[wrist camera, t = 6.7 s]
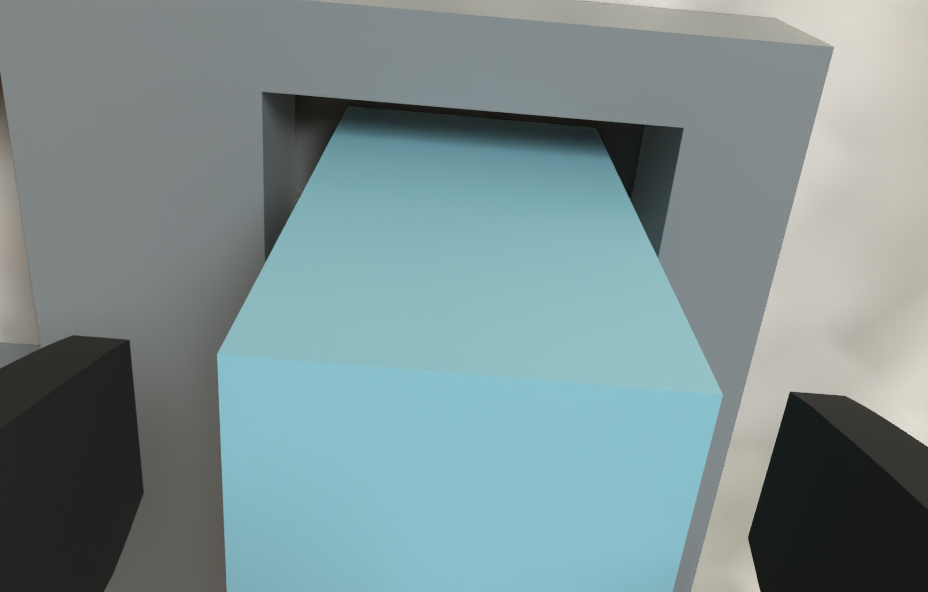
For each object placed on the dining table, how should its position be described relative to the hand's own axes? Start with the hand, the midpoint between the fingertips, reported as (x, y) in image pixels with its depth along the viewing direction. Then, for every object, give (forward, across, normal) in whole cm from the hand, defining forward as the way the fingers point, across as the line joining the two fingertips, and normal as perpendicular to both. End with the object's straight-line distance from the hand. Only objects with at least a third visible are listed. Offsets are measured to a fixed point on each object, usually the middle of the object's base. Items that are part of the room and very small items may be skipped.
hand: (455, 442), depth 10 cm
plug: (+6, 0, 0) cm, 6 cm away
